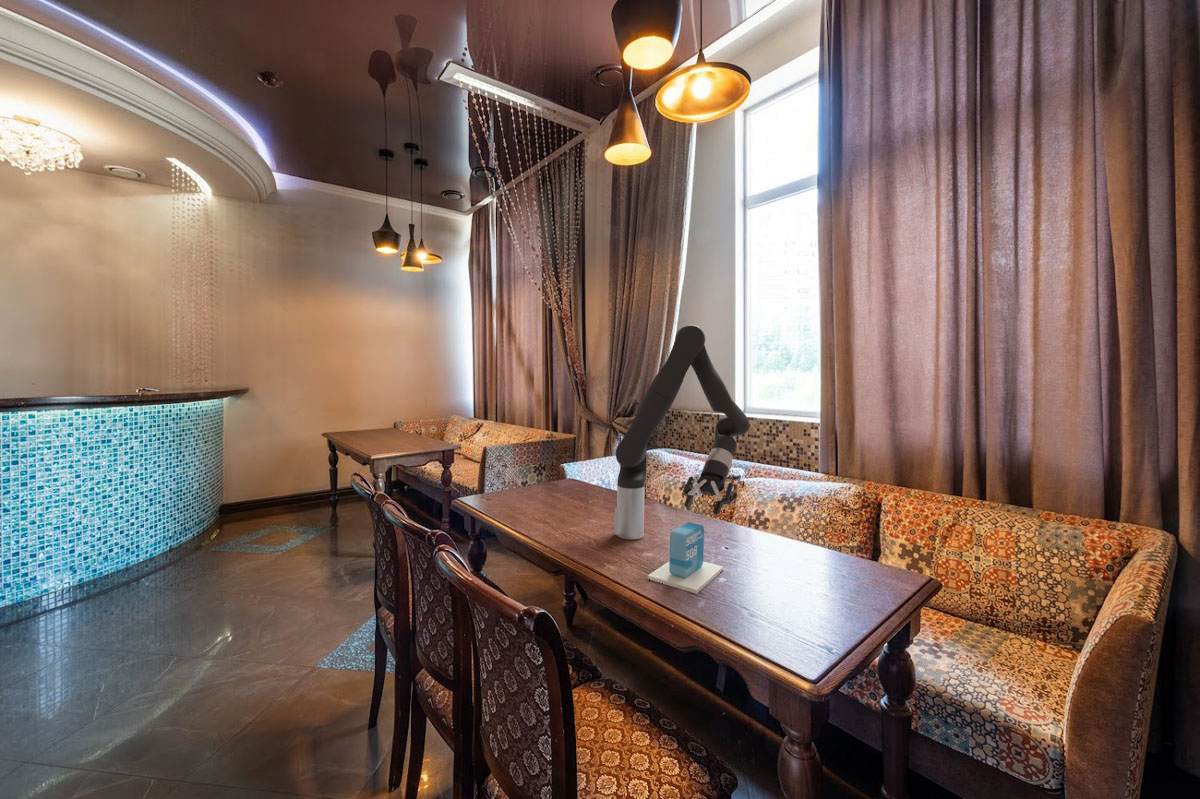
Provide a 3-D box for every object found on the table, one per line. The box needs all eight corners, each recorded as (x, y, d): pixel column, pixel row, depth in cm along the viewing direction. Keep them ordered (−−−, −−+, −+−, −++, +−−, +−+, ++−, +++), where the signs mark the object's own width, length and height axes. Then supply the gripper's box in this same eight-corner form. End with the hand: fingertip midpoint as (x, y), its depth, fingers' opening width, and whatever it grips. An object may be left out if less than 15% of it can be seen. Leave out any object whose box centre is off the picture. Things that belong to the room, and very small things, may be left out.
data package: (684, 580, 122) (685, 535, 121) (668, 575, 124) (669, 531, 124) (703, 565, 131) (704, 523, 131) (688, 561, 134) (689, 520, 133)
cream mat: (648, 579, 124) (648, 575, 124) (678, 558, 139) (678, 554, 139) (696, 593, 116) (696, 590, 116) (723, 570, 131) (723, 566, 131)
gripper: (692, 456, 145) (674, 499, 136) (737, 461, 136) (721, 508, 127) (699, 470, 149) (682, 513, 140) (743, 476, 141) (727, 523, 132)
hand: (700, 511), depth 134 cm, fingers open, 8 cm apart
